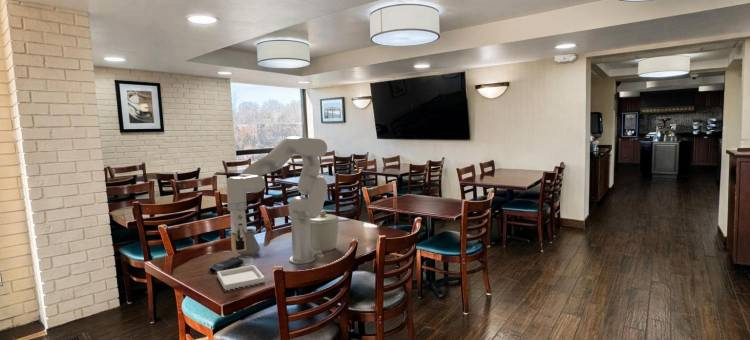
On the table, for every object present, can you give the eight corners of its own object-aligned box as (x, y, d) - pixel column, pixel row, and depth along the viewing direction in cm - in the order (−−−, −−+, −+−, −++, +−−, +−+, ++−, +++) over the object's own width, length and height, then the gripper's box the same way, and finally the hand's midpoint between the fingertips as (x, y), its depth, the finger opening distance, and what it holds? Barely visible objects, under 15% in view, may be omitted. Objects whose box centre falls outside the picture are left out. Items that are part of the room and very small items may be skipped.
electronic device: (229, 265, 198) (204, 271, 184) (230, 254, 197) (206, 259, 184) (243, 270, 194) (219, 276, 180) (245, 259, 194) (221, 264, 180)
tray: (254, 270, 185) (254, 265, 185) (265, 282, 170) (264, 277, 169) (217, 277, 177) (217, 271, 177) (225, 291, 162) (224, 285, 161)
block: (243, 247, 175) (242, 231, 175) (246, 250, 171) (245, 234, 170) (231, 249, 173) (230, 233, 172) (234, 252, 169) (233, 235, 168)
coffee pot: (246, 259, 200) (244, 230, 199) (232, 255, 207) (231, 227, 206) (279, 249, 217) (278, 221, 216) (266, 245, 224) (265, 219, 223)
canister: (317, 256, 204) (316, 215, 202) (300, 248, 218) (299, 210, 216) (347, 249, 215) (346, 210, 213) (328, 242, 229) (327, 205, 227)
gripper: (251, 208, 165) (252, 251, 166) (241, 202, 179) (243, 242, 181) (231, 210, 161) (233, 254, 163) (223, 203, 175) (225, 244, 177)
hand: (238, 247), depth 172 cm, fingers closed on block, 5 cm apart
